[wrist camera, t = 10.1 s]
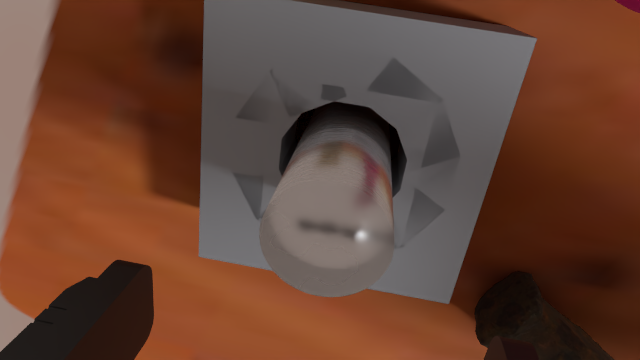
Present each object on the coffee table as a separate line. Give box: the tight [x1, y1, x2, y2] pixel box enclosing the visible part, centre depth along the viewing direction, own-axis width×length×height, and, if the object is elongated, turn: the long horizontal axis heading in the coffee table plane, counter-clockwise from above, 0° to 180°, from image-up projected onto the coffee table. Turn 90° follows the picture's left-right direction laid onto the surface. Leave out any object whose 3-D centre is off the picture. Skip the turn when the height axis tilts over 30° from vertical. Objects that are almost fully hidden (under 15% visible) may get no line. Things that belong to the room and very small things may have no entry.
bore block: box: [199, 0, 537, 304], centre depth 20 cm, size 12×12×4 cm
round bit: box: [259, 101, 394, 297], centre depth 18 cm, size 4×4×10 cm
